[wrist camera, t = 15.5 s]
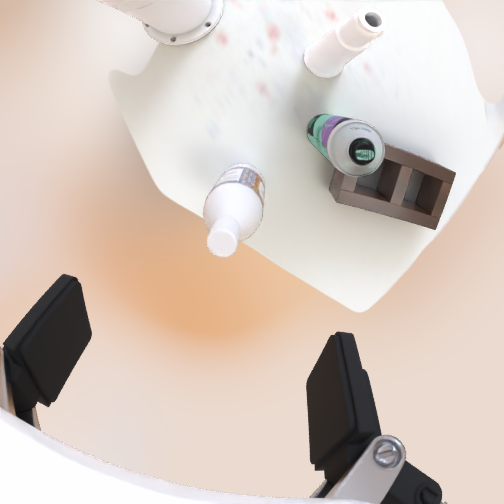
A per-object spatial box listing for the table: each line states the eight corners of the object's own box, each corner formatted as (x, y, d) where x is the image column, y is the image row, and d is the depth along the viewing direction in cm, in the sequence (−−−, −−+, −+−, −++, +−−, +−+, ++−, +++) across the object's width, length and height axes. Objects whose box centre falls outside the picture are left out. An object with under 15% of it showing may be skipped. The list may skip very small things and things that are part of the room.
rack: (344, 130, 39) (355, 134, 33) (437, 163, 39) (456, 172, 34) (328, 189, 43) (336, 202, 38) (420, 215, 44) (435, 230, 39)
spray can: (349, 137, 39) (405, 165, 22) (320, 156, 41) (356, 197, 23) (329, 107, 37) (375, 110, 20) (299, 126, 39) (322, 143, 21)
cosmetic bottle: (331, 85, 35) (388, 69, 16) (295, 63, 34) (319, 22, 15) (351, 55, 33) (420, 20, 14) (316, 33, 32) (356, -25, 12)
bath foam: (265, 206, 45) (259, 277, 28) (221, 205, 46) (189, 274, 28) (265, 163, 42) (260, 209, 25) (219, 163, 42) (181, 208, 25)
